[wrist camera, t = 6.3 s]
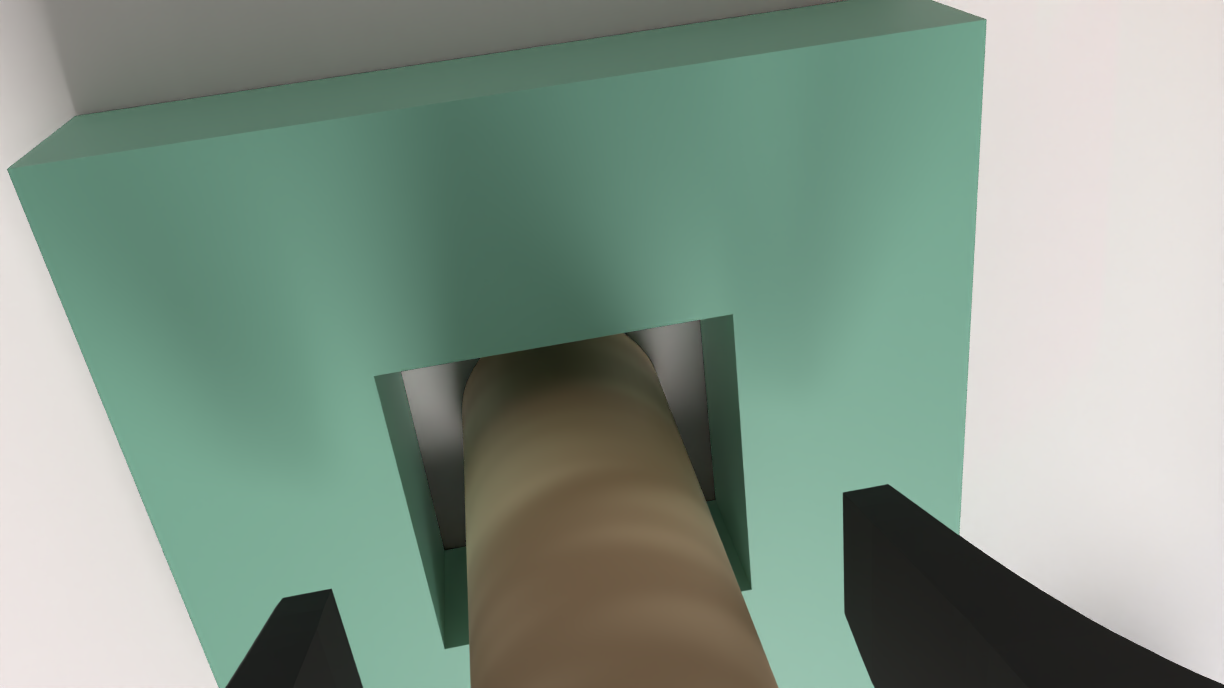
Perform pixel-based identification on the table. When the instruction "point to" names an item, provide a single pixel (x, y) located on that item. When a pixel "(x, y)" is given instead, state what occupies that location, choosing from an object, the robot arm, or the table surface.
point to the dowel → (593, 531)
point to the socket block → (529, 300)
